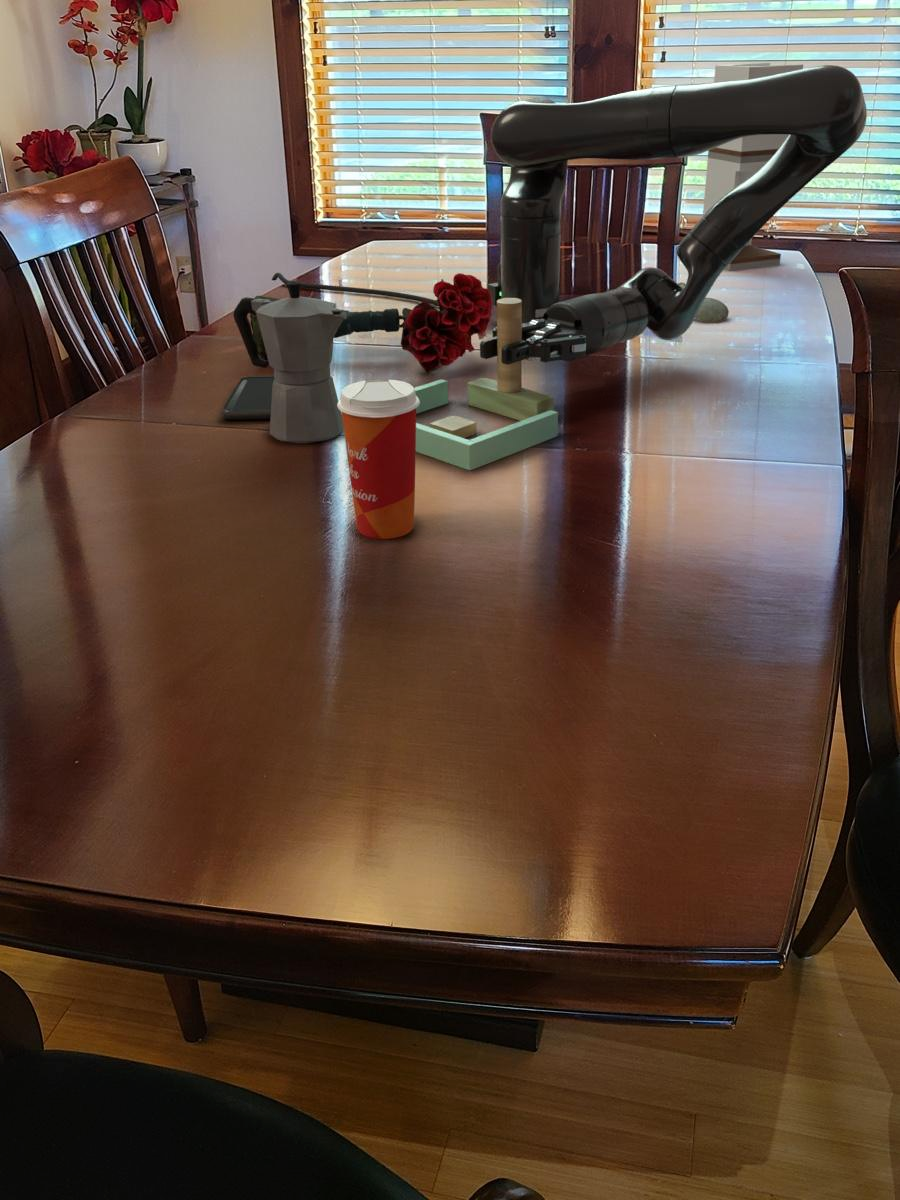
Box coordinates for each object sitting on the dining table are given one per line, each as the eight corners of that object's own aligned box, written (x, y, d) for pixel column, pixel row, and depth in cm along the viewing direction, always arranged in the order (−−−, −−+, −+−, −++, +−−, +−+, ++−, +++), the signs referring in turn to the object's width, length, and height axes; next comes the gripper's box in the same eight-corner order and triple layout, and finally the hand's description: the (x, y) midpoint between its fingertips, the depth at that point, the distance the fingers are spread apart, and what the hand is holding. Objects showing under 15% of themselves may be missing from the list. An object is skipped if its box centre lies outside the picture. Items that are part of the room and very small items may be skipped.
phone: (220, 411, 135) (242, 376, 148) (221, 420, 136) (243, 384, 149) (282, 410, 135) (299, 375, 148) (283, 419, 136) (299, 383, 149)
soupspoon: (690, 327, 173) (731, 327, 173) (693, 306, 171) (734, 306, 171) (662, 291, 192) (699, 291, 192) (665, 272, 190) (701, 272, 190)
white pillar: (729, 270, 206) (749, 67, 190) (699, 260, 215) (715, 65, 198) (779, 264, 210) (803, 64, 193) (747, 255, 218) (767, 62, 202)
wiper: (483, 399, 141) (482, 291, 134) (553, 419, 133) (555, 306, 126) (467, 404, 139) (465, 295, 132) (537, 426, 131) (538, 311, 125)
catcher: (442, 401, 141) (441, 378, 139) (557, 436, 128) (558, 412, 127) (354, 430, 132) (353, 406, 130) (469, 470, 119) (469, 445, 118)
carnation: (269, 409, 163) (499, 396, 160) (232, 357, 145) (490, 341, 142) (271, 314, 167) (497, 299, 163) (235, 251, 149) (488, 233, 145)
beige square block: (453, 426, 132) (453, 414, 131) (476, 434, 129) (476, 422, 129) (429, 435, 130) (429, 423, 129) (453, 442, 127) (452, 430, 126)
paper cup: (346, 513, 110) (336, 379, 103) (421, 509, 110) (416, 375, 103) (346, 546, 103) (335, 405, 96) (426, 542, 103) (421, 401, 97)
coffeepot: (373, 425, 133) (364, 276, 124) (334, 450, 125) (321, 294, 117) (268, 411, 139) (253, 268, 130) (225, 434, 131) (205, 284, 123)
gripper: (544, 288, 144) (451, 312, 133) (629, 305, 135) (536, 332, 124) (543, 344, 147) (452, 372, 137) (625, 364, 138) (535, 395, 128)
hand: (493, 353), depth 130 cm, fingers closed on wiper, 3 cm apart
